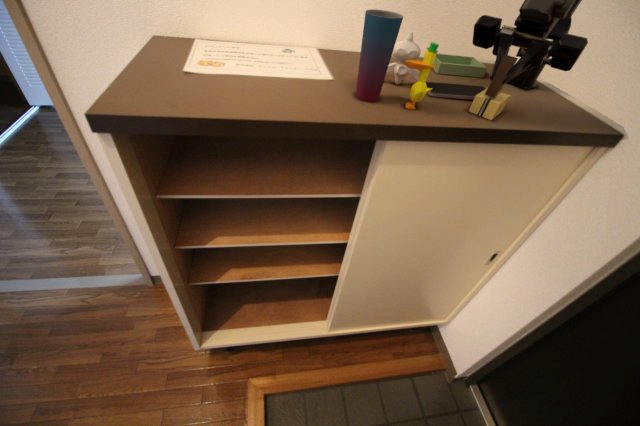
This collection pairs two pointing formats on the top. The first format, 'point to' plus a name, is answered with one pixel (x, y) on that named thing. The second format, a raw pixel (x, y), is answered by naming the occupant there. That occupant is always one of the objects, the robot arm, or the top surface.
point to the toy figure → (421, 74)
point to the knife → (498, 80)
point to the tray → (458, 65)
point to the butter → (493, 107)
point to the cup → (376, 51)
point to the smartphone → (454, 90)
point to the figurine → (404, 58)
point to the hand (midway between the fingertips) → (496, 80)
